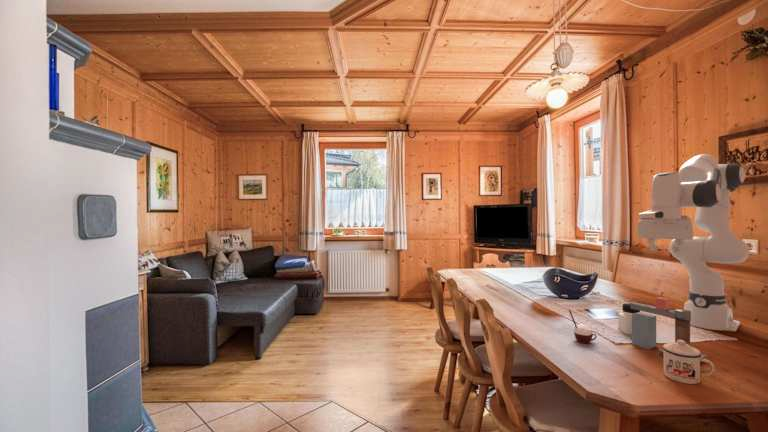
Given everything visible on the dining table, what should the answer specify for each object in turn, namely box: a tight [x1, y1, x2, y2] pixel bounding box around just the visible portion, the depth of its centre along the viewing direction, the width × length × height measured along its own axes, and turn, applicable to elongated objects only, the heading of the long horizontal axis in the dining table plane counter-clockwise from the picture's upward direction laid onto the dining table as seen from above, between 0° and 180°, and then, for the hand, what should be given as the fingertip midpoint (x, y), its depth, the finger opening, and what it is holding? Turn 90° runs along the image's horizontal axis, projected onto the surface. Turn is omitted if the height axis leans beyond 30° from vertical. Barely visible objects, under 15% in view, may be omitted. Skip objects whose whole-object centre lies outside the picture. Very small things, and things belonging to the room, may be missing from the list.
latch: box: [629, 296, 691, 321], centre depth 127 cm, size 4×18×6 cm, turn 27°
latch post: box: [658, 319, 708, 364], centre depth 121 cm, size 10×10×13 cm
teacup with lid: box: [662, 340, 716, 385], centre depth 106 cm, size 12×9×12 cm
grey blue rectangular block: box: [631, 311, 657, 350], centre depth 132 cm, size 6×6×12 cm
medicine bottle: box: [617, 302, 641, 335], centre depth 145 cm, size 7×7×12 cm
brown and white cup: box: [568, 309, 597, 344], centre depth 137 cm, size 10×6×12 cm, turn 46°
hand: (665, 251), depth 129 cm, fingers open, 8 cm apart
